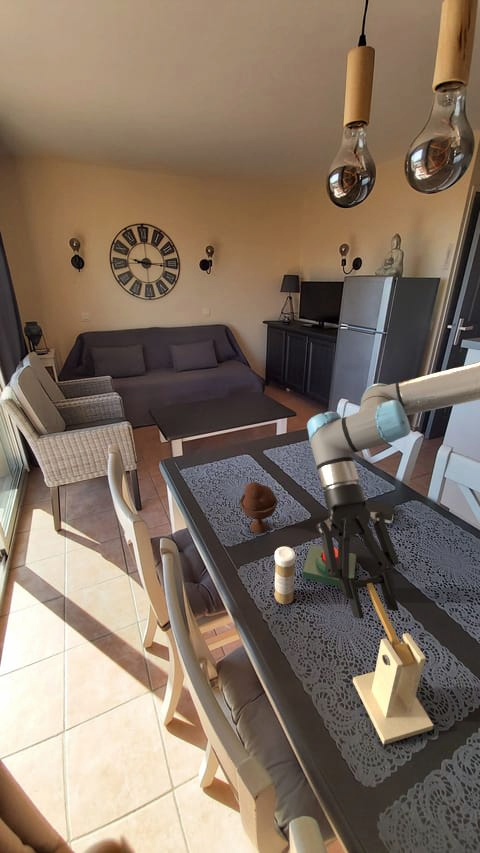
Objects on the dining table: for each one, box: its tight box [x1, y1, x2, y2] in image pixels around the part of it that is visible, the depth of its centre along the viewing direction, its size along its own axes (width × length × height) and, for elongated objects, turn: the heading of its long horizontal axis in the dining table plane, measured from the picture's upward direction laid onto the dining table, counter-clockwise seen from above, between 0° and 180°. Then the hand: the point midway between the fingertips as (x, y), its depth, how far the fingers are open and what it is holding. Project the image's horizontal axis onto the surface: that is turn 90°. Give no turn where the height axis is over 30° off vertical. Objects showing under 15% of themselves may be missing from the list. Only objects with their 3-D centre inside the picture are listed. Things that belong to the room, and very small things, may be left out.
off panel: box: [302, 544, 357, 589], centre depth 91 cm, size 12×10×4 cm
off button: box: [323, 547, 338, 563], centre depth 90 cm, size 4×4×2 cm
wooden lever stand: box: [352, 632, 434, 746], centre depth 60 cm, size 10×9×15 cm
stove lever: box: [354, 575, 414, 668], centre depth 62 cm, size 14×6×2 cm, turn 13°
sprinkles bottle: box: [274, 546, 297, 605], centre depth 82 cm, size 5×5×14 cm
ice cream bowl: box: [239, 481, 279, 534], centre depth 105 cm, size 11×11×15 cm
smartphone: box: [365, 499, 395, 524], centre depth 113 cm, size 8×1×15 cm
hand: (375, 613), depth 65 cm, fingers closed on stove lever, 6 cm apart
